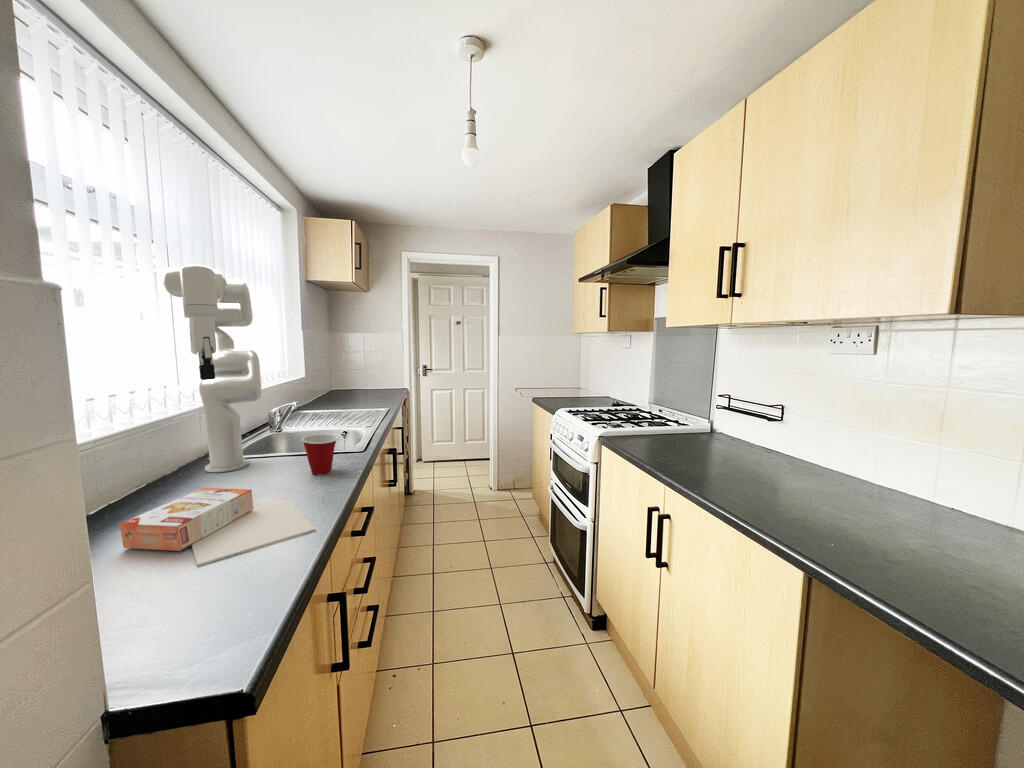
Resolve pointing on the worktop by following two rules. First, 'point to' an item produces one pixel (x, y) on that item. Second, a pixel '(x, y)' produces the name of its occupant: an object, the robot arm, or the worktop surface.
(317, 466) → the plastic cup
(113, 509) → the worktop surface
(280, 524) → the mat
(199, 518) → the cracker box
